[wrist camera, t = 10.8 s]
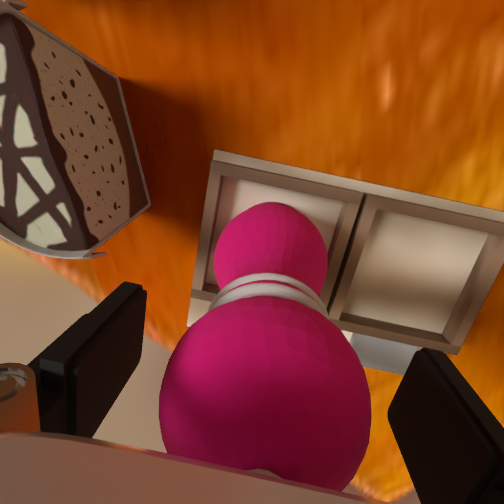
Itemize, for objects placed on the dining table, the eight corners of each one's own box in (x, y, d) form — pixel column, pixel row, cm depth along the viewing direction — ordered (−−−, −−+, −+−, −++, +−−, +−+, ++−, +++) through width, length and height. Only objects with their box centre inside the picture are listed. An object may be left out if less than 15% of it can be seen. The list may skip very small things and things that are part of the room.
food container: (33, 70, 22) (-144, 12, 13) (112, 53, 22) (-13, -21, 12) (87, 233, 26) (-20, 281, 17) (156, 223, 25) (86, 267, 16)
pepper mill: (330, 265, 24) (519, 672, 6) (247, 295, 26) (170, 702, 7) (298, 179, 22) (417, 354, 4) (209, 216, 24) (-39, 484, 5)
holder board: (216, 149, 23) (209, 149, 21) (503, 211, 23) (529, 218, 21) (189, 320, 28) (181, 336, 26) (426, 371, 28) (440, 392, 26)
